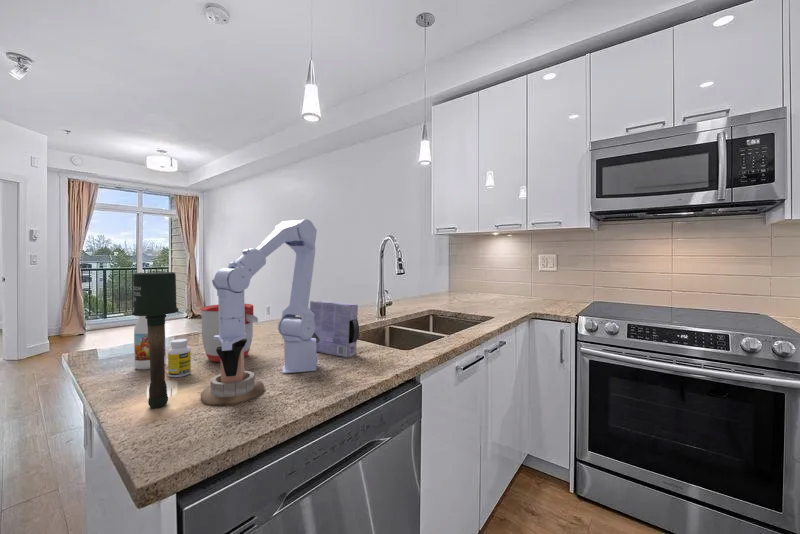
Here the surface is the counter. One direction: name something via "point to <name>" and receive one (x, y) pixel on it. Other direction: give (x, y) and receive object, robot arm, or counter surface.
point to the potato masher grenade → (155, 324)
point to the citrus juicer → (212, 328)
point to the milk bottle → (142, 345)
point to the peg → (239, 373)
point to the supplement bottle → (179, 358)
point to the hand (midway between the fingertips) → (233, 372)
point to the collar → (232, 390)
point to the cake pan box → (335, 327)
